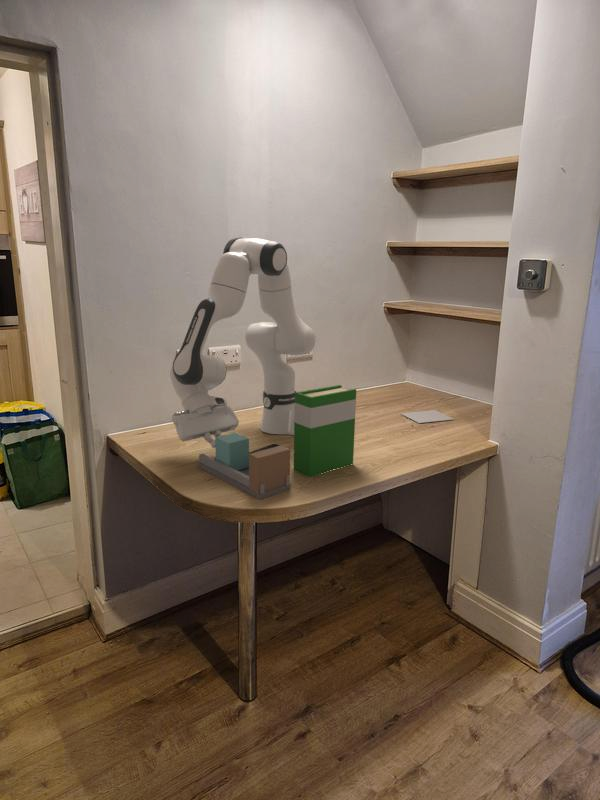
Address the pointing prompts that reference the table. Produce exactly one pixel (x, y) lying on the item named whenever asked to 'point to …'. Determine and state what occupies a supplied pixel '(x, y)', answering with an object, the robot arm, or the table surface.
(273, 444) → the phone
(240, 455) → the block
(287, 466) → the keeper track
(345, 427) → the hardback book
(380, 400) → the table surface
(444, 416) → the paper stack
